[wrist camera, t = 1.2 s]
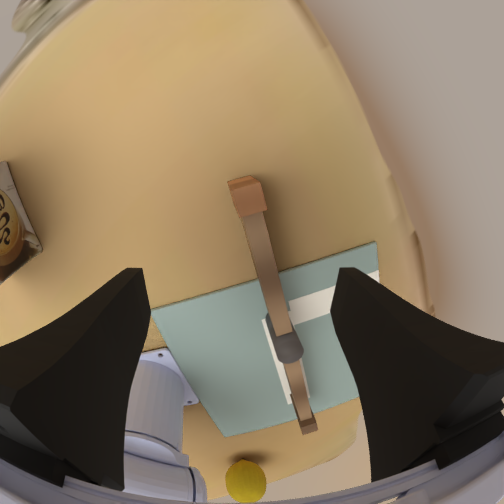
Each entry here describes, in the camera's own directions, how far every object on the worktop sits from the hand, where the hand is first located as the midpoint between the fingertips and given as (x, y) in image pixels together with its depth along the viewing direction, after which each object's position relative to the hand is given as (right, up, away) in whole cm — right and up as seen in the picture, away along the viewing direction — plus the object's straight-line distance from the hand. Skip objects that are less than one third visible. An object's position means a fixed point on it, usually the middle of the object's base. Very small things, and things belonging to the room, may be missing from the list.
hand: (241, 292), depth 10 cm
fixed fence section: (+4, -9, +16) cm, 19 cm away
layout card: (+4, -9, +16) cm, 19 cm away
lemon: (-1, -28, +23) cm, 36 cm away
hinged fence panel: (+1, +2, +11) cm, 11 cm away
